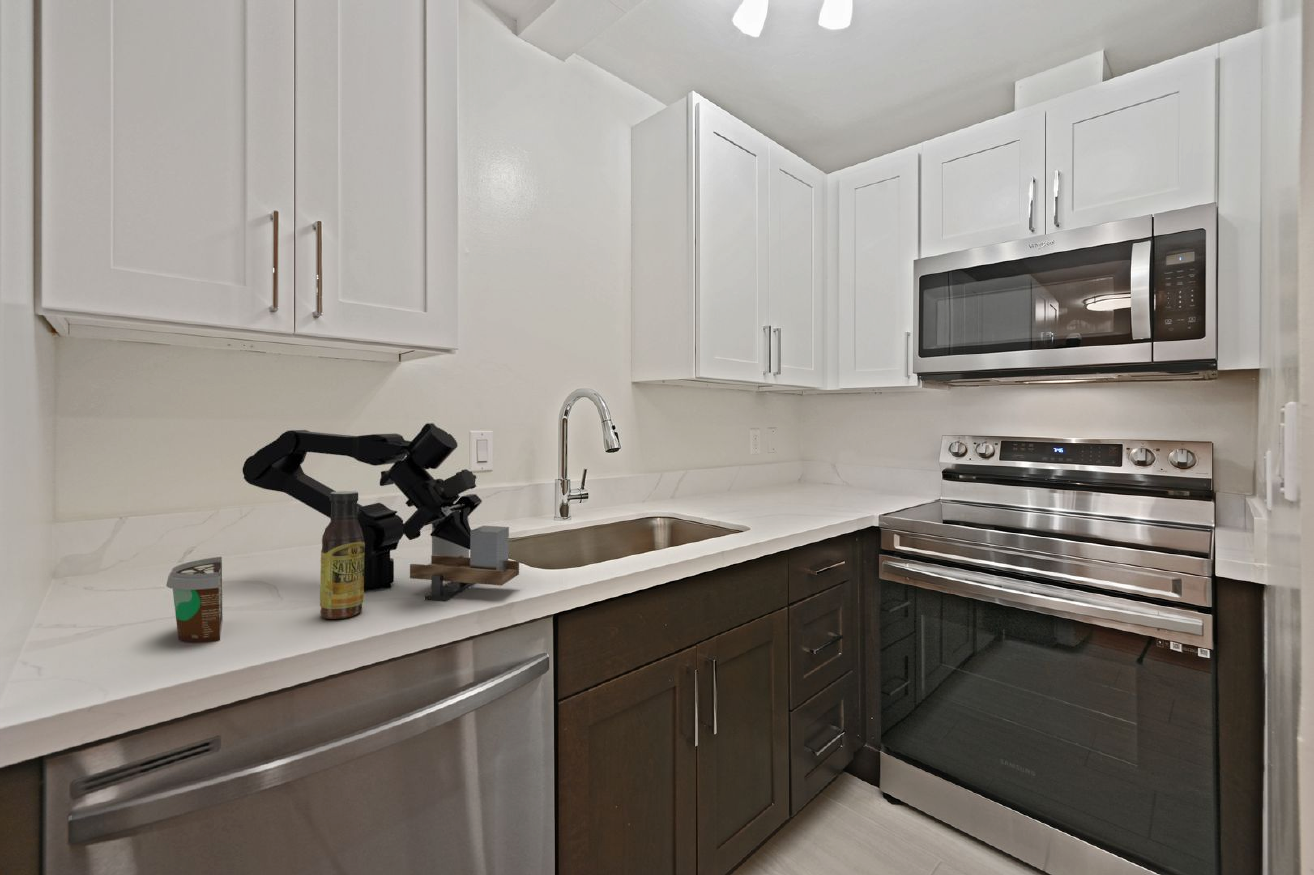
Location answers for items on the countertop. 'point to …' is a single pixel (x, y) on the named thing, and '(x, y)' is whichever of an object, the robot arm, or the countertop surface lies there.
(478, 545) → the steel block
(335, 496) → the sauce bottle
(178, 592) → the food container
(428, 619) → the countertop surface
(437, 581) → the stand
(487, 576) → the beam
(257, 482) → the robot arm
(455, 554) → the can
